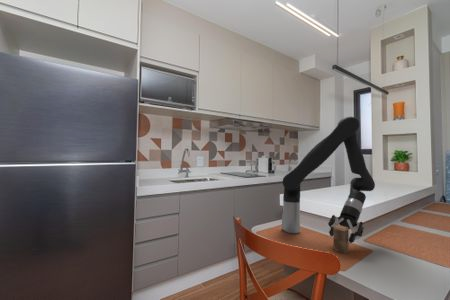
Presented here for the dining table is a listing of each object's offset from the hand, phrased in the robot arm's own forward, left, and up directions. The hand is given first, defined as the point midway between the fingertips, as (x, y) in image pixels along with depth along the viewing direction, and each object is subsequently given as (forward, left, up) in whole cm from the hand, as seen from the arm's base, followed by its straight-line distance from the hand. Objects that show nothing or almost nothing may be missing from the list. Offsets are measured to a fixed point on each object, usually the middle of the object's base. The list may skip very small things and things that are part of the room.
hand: (340, 238), depth 95 cm
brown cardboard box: (0, +1, -6) cm, 6 cm away
